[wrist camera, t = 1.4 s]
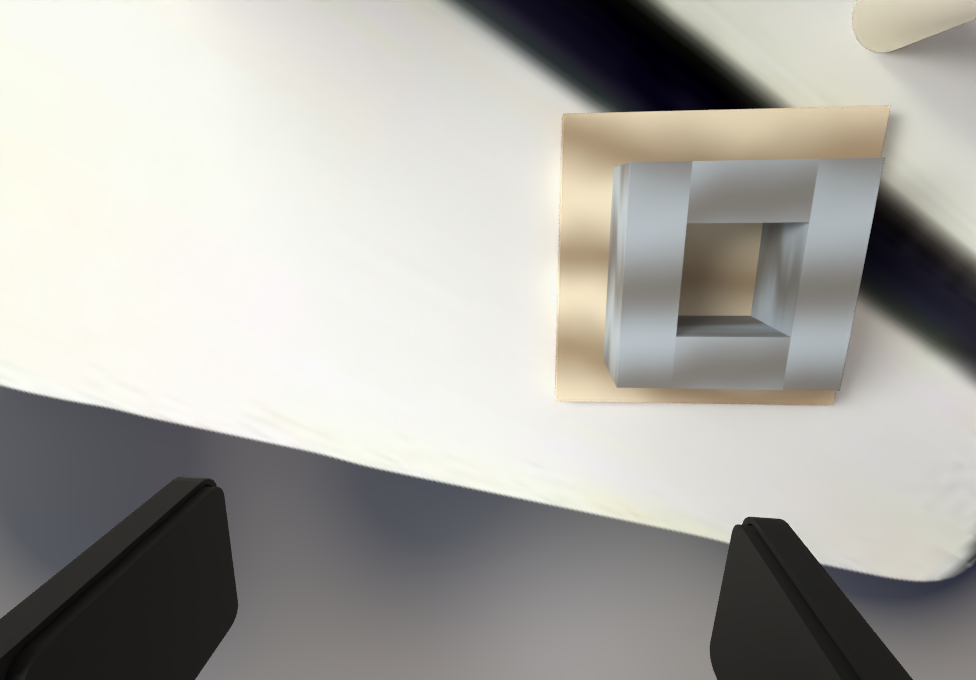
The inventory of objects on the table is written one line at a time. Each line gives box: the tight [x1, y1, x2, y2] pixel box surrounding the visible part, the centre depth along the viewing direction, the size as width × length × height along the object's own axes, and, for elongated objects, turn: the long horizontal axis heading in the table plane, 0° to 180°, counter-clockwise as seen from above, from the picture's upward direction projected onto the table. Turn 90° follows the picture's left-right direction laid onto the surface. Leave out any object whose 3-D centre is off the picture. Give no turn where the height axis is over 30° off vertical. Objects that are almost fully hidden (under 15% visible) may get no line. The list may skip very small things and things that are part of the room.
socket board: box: [555, 106, 891, 405], centre depth 29 cm, size 18×18×6 cm
